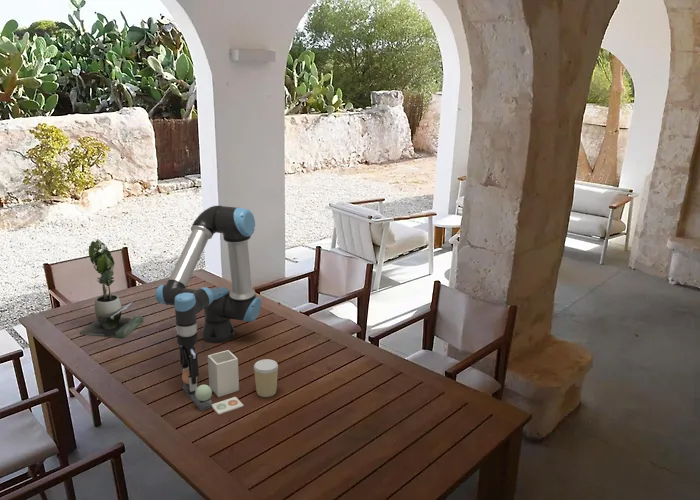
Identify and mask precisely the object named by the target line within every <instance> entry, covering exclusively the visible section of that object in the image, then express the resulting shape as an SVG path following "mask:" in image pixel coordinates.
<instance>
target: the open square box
mask: <svg viewBox="0 0 700 500" xmlns="http://www.w3.org/2000/svg"><path fill="white" fill-rule="evenodd" d="M207 371H208V384H209V385H208V386H209V387H210V388H211V390H212V393H214V394H215V395H216V397H217V398H221V397H224V396H226V395H229V394H232V393H235V392H238V391H240V382H239V360H238V358H237V356H235V354H233V353H232V352H231V351H230V350H229V349H227V350H223V351H220V352H216V353H212V354H209V355H207Z"/></svg>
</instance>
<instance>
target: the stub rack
mask: <svg viewBox="0 0 700 500" xmlns="http://www.w3.org/2000/svg"><path fill="white" fill-rule="evenodd" d="M182 385H183V386H182V390H183V391H184V392H185V394H186V395H187V396H188V397H189V398H190V400H191V402H192V403H194V405H195V406H196V407H197V408H198V410H199V411H200V412H202V411H205V410H208V409H211V408H212V404H213V402H212V400H213V399H211V397H210V398H209V399H208V400H206V401H200V400H198V399H197V398H196V395H195V392H196V390H195V391H191V392H190V385H189V384H186V383H184V382H183V381H182ZM198 387H199V384H197V388H198Z"/></svg>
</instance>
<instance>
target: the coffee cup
mask: <svg viewBox="0 0 700 500" xmlns="http://www.w3.org/2000/svg"><path fill="white" fill-rule="evenodd" d="M253 370H254V381H255V389H256V390H255V391H256V393H257V394H256V395H257V396H259V397H262V398H269V397H273V396H274V395H276V393H277V387H278V372H279V371H278V370H279V364H278V362H277V361H275V360H274V359H266V358H264V359H260V360H258V361H257V362H255V363H254V364H253Z"/></svg>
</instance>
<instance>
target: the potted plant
mask: <svg viewBox="0 0 700 500" xmlns="http://www.w3.org/2000/svg"><path fill="white" fill-rule="evenodd" d="M88 256H89V260H90V262H91V264H92V265H93V268H94V270H95V271H96V272H97V273H98V274H99V275H100V277H96V281H97V282H98V283H99V284H101V285H102V294H103V295H99V296H97V297H96V298H95V299H94V313H95V318H96V320H95V321H93V322H92V323H90V324H89V325H87V327H85V328H83V329H81V331H80V332H79V334H80V335H82V334H85V336H95V337H103V336H104V337H103V338H115V339H123V340H124V339H125V338H126V337H127V336H129V335H130V334H131V333H133V332H134V331H135V330H136V329H137V328H138V327H139V326H141V325H142V324H143V323H144V316H141V315H138V314H135V315H134V316H133V317H132V318H129V317H121V316H122V312H123V311H126V310H127V309H129V307H130V306H132V304H133V301H132V302H130V303H128V304H127V305H125V306H124V307H123V308H122V303H121V299H120V297H119V295H117V294H113V293H111V287H110V286H111V285H112V284H113V283H114V282H115V280H114V279H115V277H113V275H114V270H115V265H116V264H115V260H114V258H113V256H112V253H111V251H110V249H109V248H108V246H107V245H106V243H104V242H102V241H101V240H100V239H98V238H97V239H96V240H94V241H93V240H92V241H91V242H90V245H89V246H88ZM107 291H108V294H107ZM134 309H135V307H132V308H131V310H132V311H133V310H134Z"/></svg>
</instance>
